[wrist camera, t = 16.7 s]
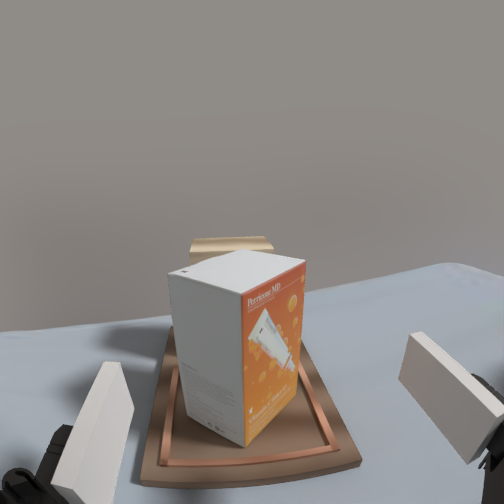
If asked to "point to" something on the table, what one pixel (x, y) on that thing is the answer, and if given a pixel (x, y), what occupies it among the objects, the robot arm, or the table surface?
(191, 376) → the small box
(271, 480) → the wooden tray with block
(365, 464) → the table surface
